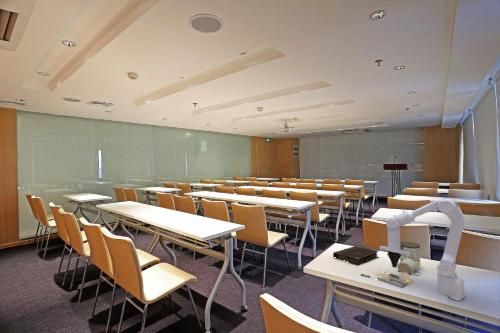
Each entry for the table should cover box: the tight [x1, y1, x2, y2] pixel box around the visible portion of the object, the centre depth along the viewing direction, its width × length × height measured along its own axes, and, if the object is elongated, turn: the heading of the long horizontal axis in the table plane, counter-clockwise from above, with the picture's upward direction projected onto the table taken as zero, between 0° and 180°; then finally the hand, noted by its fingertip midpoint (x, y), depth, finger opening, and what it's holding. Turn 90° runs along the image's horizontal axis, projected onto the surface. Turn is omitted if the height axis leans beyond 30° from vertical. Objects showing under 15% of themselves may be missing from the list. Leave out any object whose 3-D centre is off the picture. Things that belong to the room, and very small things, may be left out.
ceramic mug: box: [397, 258, 422, 277], centre depth 143 cm, size 11×8×8 cm
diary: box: [332, 245, 380, 266], centre depth 171 cm, size 19×25×5 cm
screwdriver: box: [360, 273, 379, 281], centre depth 136 cm, size 10×2×2 cm, turn 45°
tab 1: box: [380, 270, 391, 281], centre depth 133 cm, size 3×3×5 cm
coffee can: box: [399, 241, 422, 272], centre depth 152 cm, size 10×10×14 cm
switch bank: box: [377, 272, 413, 289], centre depth 132 cm, size 12×11×2 cm
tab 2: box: [398, 272, 409, 281], centre depth 131 cm, size 3×3×5 cm
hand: (394, 266), depth 135 cm, fingers closed
